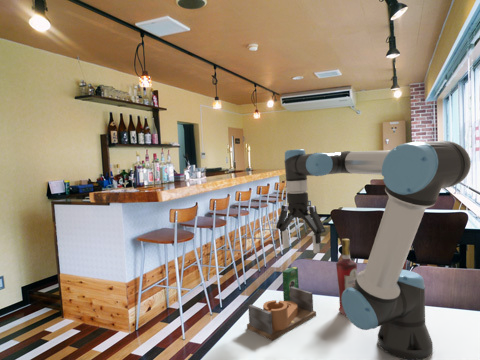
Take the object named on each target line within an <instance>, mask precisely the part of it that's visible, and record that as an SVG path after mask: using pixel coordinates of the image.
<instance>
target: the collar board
mask: <svg viewBox="0 0 480 360" xmlns="http://www.w3.org/2000/svg"><path fill="white" fill-rule="evenodd" d="M290 301H292V302H295V303H296V304H297V307H298V314H297V315H296V317H295V318H294V319H293V320H292V322H291V323H290V324H289V326H288V327H287V328H285V329H283V330H278V331H274V330H272V313H271V312H268V311H266V310H263V308H261V307H258V306H256V305H253V304H249V305H248V307H247V308H248V323H247V324H246V328H247V329H248V330H249V331H251V332H253V333H256V335H257V334H258V335H260V336H262V337H264V338H266V339H268V340H270V341H274V340H275V339H277V338H279V337H281V336H282V335H284V334H286V333H288V332H290V331H291V330H293V329H294V328H297V327H298V326H300V325H302V324H304V323H305V322H307V321H310V320H311V319H312V318H315V317H317V311H315V310H314V296H313V292H312V291H308V290H304V289H302V288H299V289H298V288H295V287H290Z"/></svg>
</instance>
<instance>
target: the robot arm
mask: <svg viewBox="0 0 480 360" xmlns="http://www.w3.org/2000/svg"><path fill="white" fill-rule="evenodd" d="M306 153H307V152H306V150H305V149H304V148H303V149H301V148H299V149H289V150H288V149H287V150H286V151H285V152H284V160H283V161H284V170H285V182H286V184H285V185H286V192H287V194H286V198H287V201H286V202H287V203H288V204H282V205H281V206H280V207H281V209H280V210H281V211H280V214H279V216H278V220H277V223H276V226H275V228H276V229H277V230H279V231H280V239H282V249H287V248H290V241H289V237H290V236H289V229H288V227H289V226H290V224H291V223H292V221H293V219H294V218H295V219H296V218H297V219H302V220H303V221H305V223H306V224H307V225H308V227H309V228H310V229H311V231H312V233H313V234H311V235H312V236H311V237H312V247H313V248H312V249H313V250H312V251H313V254H317V253H320V251H321V249H320V244H321V243H322V240H321V236H322V235H321V234H323V233H326V229H325V228H326V227H325V226H324V224H323V223H322V220H321V218H320V216H319V214H318V212H317V206H316V205H311V206H309V204H308V203H309V193H308V192H307V191H308V177H309V176H310V177H313V176H314V177H322V176H327V175H335V174H359V175H374V176H375V175H377V176H378V175H379V176H382V177H383V178H382V181H383V184H384V185H385V187H384V191H385V194H387V196H388V200H387V202H386V205H385V208H384V211H383V214H382V218H381V220H380V223H379V227H378V229H377V232H376V236H375V238H374V241H373V245H372V247H371V250H370V254H369V257H368V260H367V263H366V265H365V269H364V270H361V271H359V272H357V277H356V280H355V283H354V286H353V287H349V288H347V289H346V290H344V292H343V293H342V298H341V300H342V306H343V309H344V311H345V314H346V316H345V317H347V320H349V321H350V322H351V324H352V325H354V326H355V328H358V329H360V330H363V331H369V330H373V329H376V328H378V327H379V330H378V333H377V344H378V346H379V347H380V349H382V350H383V351H384V352H385V353H387V354H389V355H391V356H394V357H397V358H400V359H405V360H422V359H426V358H428V357H430V356H431V355H432V354H433V351H434V349H433V348H434V347H433V346H434V345H433V340H432V337H431V335H430V333H429V330H428V326H427V324H426V299H425V298H426V292H425V291H426V287H425V281H424V280H425V279H424V278H423V276H422V275H421V274H419V273H417V272H414V271H411V270H407V269H403V268H404V265H405V263H406V261H407V257H408V255H409V253H410V250H411V247H412V245H413V242H414V240H415V237H416V234H417V233H418V229H419V227H420V224H421V222H422V218H423V216H424V213H425V211H426V209H428V208H431V207H433V206H435V204H436V203H437V200H438V198H439V195H440V193H441V190H442V189H447V188H450V187H451V188H452V187H454V186H456V185H458V184H460V183H462V182H463V181H464V180H465V179H466V177H467V176H468V174H469V173H470V169H471V166H472V165H471V157H470V155H469V153H468V151H467V150H466V149H465V148H464V147H463V146H461V145H460V144H458V143H456V142H453V141H448V140H438V141H418V140H417V141H411V142H410V141H409V142H405V143H401V144H399V145H397V146H395V147H393V148H392V149H391V150H390V149H388V150H358V151H354V150H353V151H350V150H346V151H345V150H343V151H334V152H313V153H307V154H306ZM288 212H289V213H288Z"/></svg>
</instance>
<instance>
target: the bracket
mask: <svg viewBox="0 0 480 360" xmlns="http://www.w3.org/2000/svg"><path fill="white" fill-rule="evenodd" d="M262 306H263V307H262V309H263V310H266V311H268V312H271V313H272V330H274V331H278V330H283V329H285V328H287V327H288V326H289V324H290V323H291V322H292V320H293V319H294V318H295V317H296V315H297V314H298V307H297V304H296V303H295V302H292V301H284V300H279V301H278V302H277V300H275V299H274V300H268V301H266V302H265V303H263V305H262Z"/></svg>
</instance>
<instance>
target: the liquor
mask: <svg viewBox="0 0 480 360" xmlns="http://www.w3.org/2000/svg"><path fill="white" fill-rule="evenodd" d="M341 247H342V253H341V254H342V257H341V260H338V261H337V262H336V263H335V266H336V277H337V286H338V287H337V288H338V298H339V302H338V303H339V308H338V311H339V313H340V314H342V315H343V316H345V317H347V316H346V314H345V311H344V309H343V306H342V300H341V298H342V293H343V292H344V290H346V289H347V288H349V287H353V286H354V283H355V280H356V277H357V275H358V263H356V262H355V260H354V261H353V260H351V252H350V239H349V238H342V239H341Z"/></svg>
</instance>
